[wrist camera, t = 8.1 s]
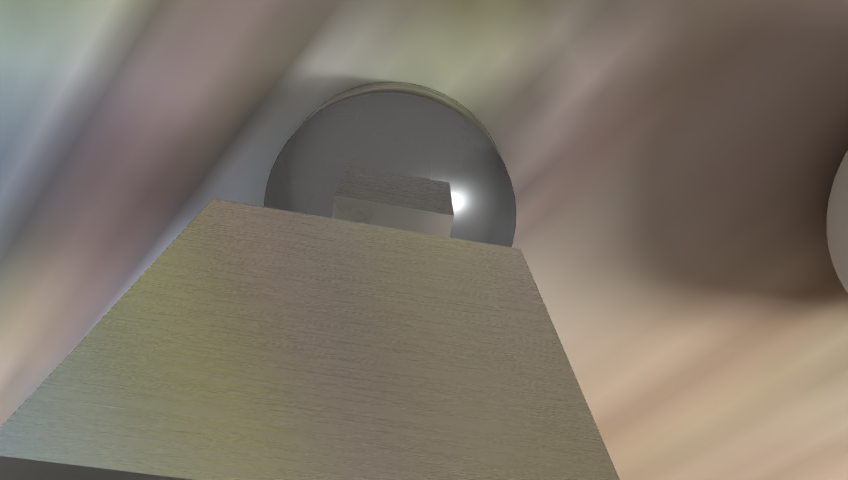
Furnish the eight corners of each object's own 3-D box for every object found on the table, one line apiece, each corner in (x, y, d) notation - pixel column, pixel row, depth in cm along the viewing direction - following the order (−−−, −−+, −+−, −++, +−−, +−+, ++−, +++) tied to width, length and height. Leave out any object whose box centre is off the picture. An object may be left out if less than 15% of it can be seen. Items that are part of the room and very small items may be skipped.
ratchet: (418, 557, 29) (417, 680, 24) (244, 534, 28) (205, 655, 23) (530, 105, 21) (565, 144, 16) (292, 61, 21) (250, 86, 15)
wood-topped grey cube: (520, 248, 12) (643, 535, 6) (459, 483, 15) (500, 882, 8) (212, 199, 12) (-25, 453, 5) (197, 450, 14) (15, 848, 8)
